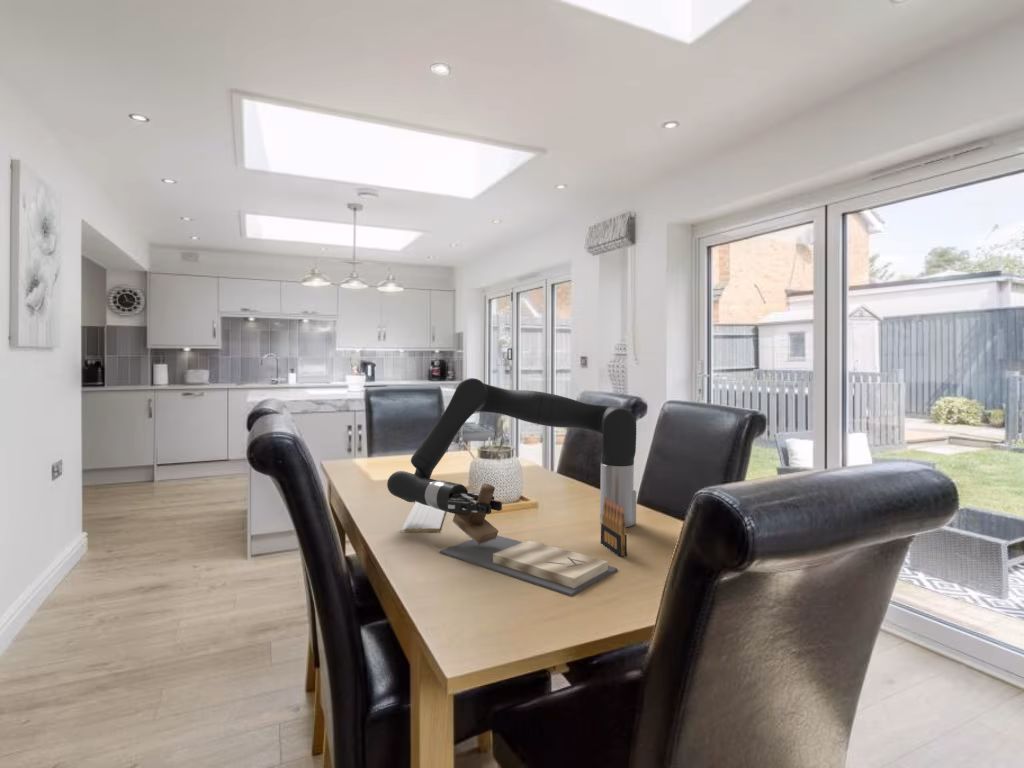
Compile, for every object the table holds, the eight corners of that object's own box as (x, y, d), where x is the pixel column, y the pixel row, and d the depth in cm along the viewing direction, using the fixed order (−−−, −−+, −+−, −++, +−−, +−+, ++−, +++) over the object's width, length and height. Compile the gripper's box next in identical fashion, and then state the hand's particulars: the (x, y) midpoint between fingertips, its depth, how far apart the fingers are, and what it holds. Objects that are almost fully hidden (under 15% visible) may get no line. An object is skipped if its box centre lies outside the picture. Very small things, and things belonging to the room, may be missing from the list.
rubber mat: (439, 552, 134) (439, 550, 134) (490, 535, 148) (490, 533, 148) (571, 596, 110) (571, 593, 110) (617, 570, 123) (617, 568, 123)
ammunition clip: (600, 543, 142) (600, 496, 142) (607, 542, 143) (607, 495, 142) (619, 557, 132) (620, 506, 132) (626, 556, 133) (627, 506, 132)
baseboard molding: (394, 534, 151) (439, 534, 151) (394, 523, 151) (439, 523, 151) (411, 504, 182) (448, 504, 182) (411, 495, 182) (448, 495, 182)
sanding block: (452, 521, 140) (466, 478, 136) (469, 516, 144) (483, 474, 141) (478, 544, 134) (494, 500, 130) (495, 539, 139) (510, 496, 135)
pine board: (492, 562, 126) (492, 553, 126) (528, 548, 136) (528, 540, 136) (574, 588, 112) (574, 578, 112) (607, 570, 122) (607, 561, 122)
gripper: (425, 486, 140) (475, 498, 129) (465, 477, 151) (514, 487, 140) (425, 516, 140) (475, 530, 129) (465, 505, 151) (514, 517, 140)
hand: (495, 508), depth 134 cm, fingers closed on sanding block, 3 cm apart
